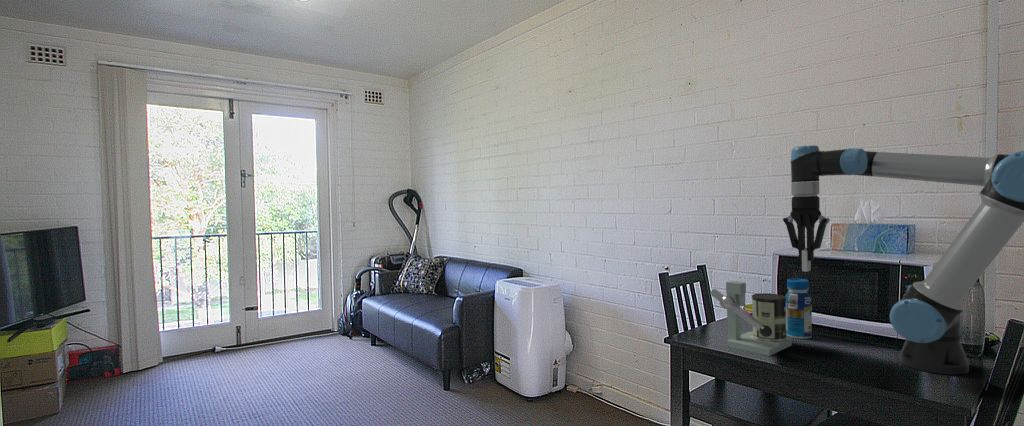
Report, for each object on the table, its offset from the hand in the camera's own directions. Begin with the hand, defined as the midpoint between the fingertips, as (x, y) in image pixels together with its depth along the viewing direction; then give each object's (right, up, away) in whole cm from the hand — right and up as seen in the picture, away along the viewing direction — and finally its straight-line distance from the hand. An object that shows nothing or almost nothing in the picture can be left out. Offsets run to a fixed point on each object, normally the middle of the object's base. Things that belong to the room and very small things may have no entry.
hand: (806, 270), depth 155 cm
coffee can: (-5, -24, +12) cm, 28 cm away
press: (-8, -26, +11) cm, 30 cm away
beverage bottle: (+9, -26, +20) cm, 34 cm away
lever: (-18, -16, +8) cm, 25 cm away
